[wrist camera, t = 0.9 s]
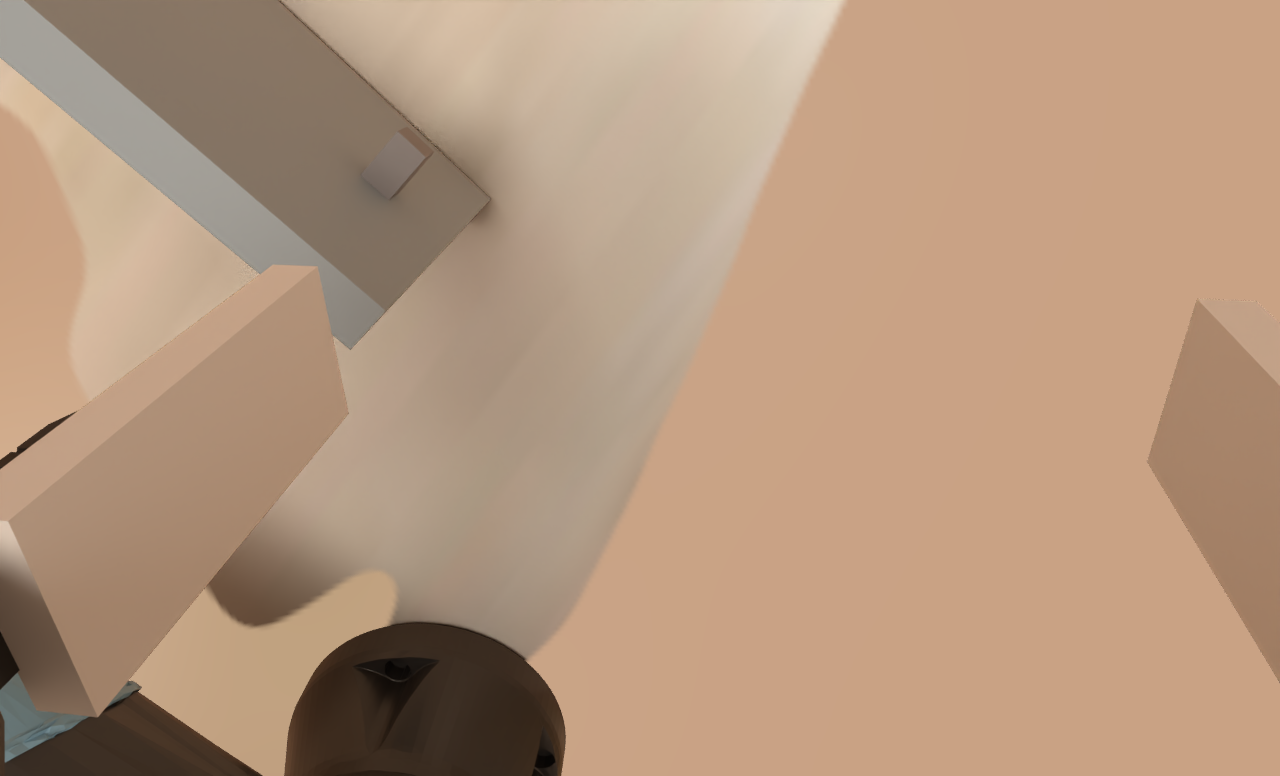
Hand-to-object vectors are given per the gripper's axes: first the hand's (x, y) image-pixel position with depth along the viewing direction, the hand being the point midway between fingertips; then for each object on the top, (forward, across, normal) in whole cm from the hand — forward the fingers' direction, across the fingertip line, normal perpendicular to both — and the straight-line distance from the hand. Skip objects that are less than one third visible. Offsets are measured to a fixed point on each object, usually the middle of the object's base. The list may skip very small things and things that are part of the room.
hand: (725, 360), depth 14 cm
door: (+25, +19, -2) cm, 31 cm away
